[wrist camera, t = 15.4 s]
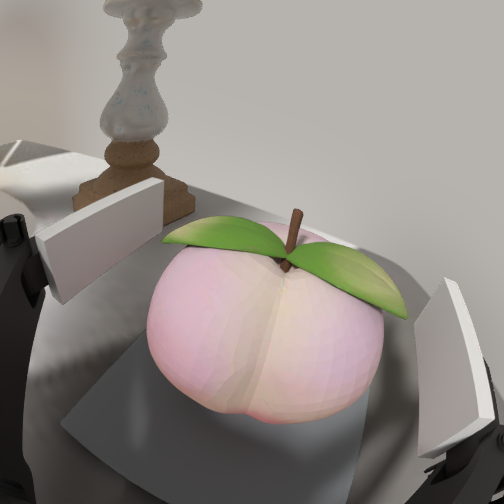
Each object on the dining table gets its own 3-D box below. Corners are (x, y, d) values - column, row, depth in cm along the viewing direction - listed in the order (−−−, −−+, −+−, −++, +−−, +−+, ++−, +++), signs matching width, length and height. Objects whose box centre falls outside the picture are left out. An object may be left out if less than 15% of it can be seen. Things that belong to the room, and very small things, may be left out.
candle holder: (139, 186, 35) (158, 18, 22) (196, 211, 31) (228, 7, 19) (71, 211, 27) (82, 8, 14) (121, 247, 23) (146, -24, 10)
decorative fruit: (327, 347, 17) (391, 204, 12) (327, 463, 10) (476, 319, 5) (188, 314, 17) (201, 158, 12) (135, 419, 10) (81, 225, 5)
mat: (321, 549, 6) (328, 550, 5) (64, 428, 9) (58, 423, 8) (369, 336, 19) (374, 330, 18) (205, 274, 22) (206, 266, 22)
